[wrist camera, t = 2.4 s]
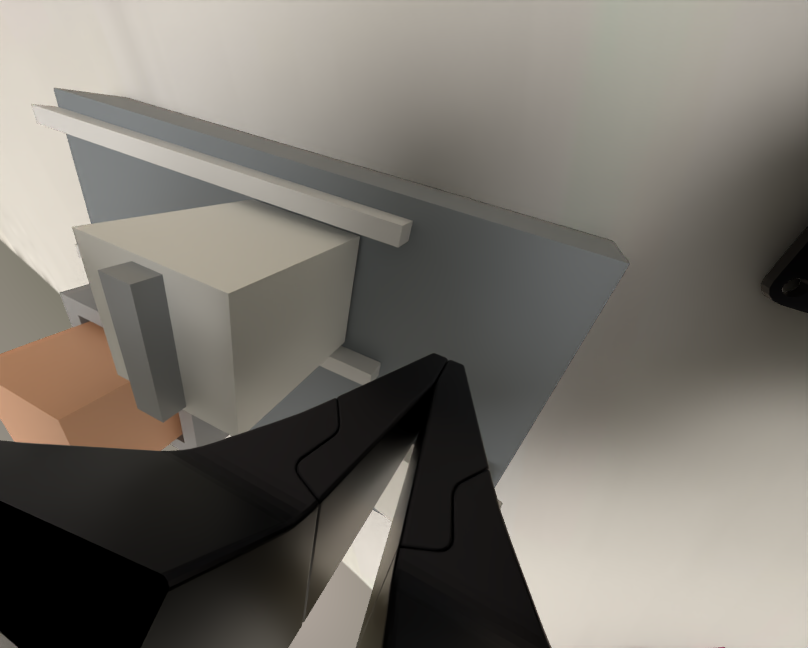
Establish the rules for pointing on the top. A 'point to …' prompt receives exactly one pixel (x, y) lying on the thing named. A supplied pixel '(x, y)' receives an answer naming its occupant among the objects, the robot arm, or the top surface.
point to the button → (75, 395)
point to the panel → (364, 259)
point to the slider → (219, 305)
